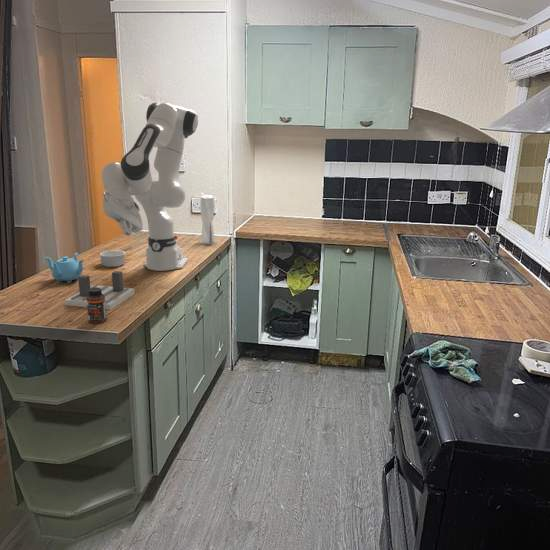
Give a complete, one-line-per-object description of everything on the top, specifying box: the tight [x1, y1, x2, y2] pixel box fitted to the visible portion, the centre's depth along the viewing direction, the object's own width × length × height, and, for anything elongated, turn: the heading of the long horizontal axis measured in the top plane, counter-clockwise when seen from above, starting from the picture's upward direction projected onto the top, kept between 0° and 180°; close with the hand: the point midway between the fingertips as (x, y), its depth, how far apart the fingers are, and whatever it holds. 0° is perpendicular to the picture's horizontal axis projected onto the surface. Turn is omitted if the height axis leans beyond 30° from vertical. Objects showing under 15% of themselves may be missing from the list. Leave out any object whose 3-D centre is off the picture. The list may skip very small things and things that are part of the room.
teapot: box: [44, 252, 85, 284], centre depth 209 cm, size 13×13×10 cm
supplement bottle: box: [86, 287, 107, 324], centre depth 168 cm, size 6×6×11 cm
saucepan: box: [98, 246, 133, 268], centre depth 236 cm, size 12×20×6 cm, turn 159°
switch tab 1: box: [77, 274, 91, 297], centre depth 186 cm, size 2×3×8 cm
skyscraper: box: [199, 192, 218, 246], centre depth 273 cm, size 8×8×28 cm
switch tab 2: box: [111, 270, 125, 292], centre depth 191 cm, size 2×3×8 cm
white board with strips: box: [64, 284, 136, 311], centre depth 189 cm, size 18×18×3 cm
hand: (127, 233), depth 181 cm, fingers closed
